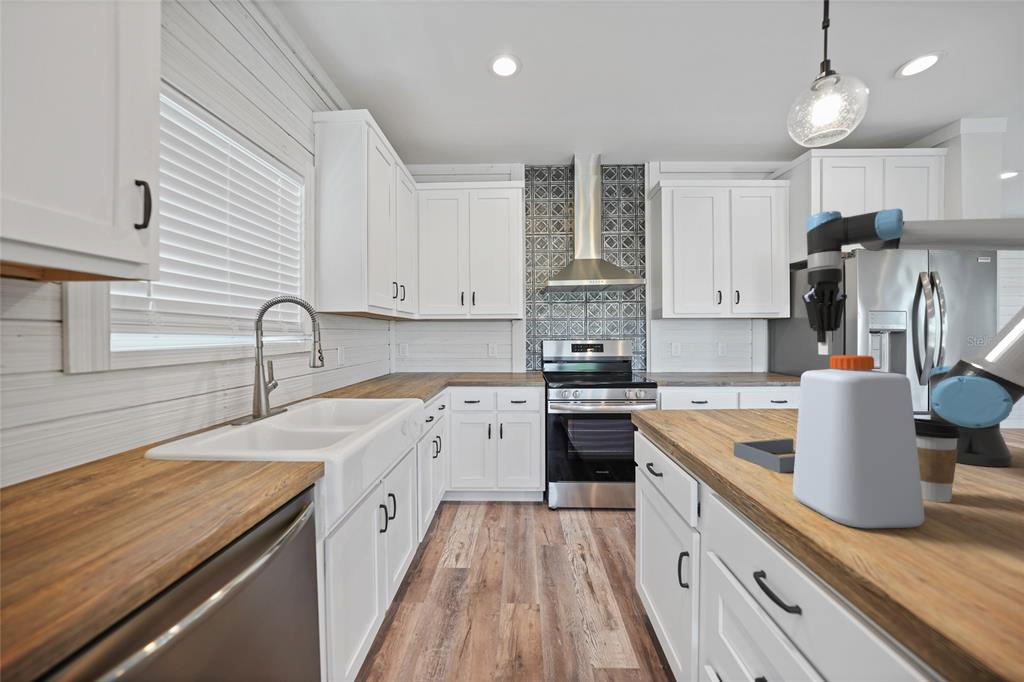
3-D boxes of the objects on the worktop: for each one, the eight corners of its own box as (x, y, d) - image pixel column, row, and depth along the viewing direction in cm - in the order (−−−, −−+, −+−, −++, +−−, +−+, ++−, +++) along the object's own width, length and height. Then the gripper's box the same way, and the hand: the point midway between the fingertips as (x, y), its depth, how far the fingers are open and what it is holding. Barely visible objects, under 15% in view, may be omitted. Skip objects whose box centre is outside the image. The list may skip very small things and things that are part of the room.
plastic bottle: (940, 530, 64) (938, 357, 64) (847, 532, 64) (846, 358, 63) (857, 493, 79) (855, 353, 79) (782, 495, 79) (780, 354, 79)
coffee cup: (887, 487, 82) (886, 415, 82) (933, 489, 81) (932, 415, 81) (923, 504, 74) (922, 424, 74) (975, 506, 72) (974, 424, 72)
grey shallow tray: (790, 450, 109) (790, 438, 109) (842, 466, 95) (842, 452, 95) (733, 455, 105) (733, 442, 105) (779, 473, 91) (779, 457, 91)
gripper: (829, 272, 115) (830, 353, 115) (792, 271, 112) (793, 354, 112) (857, 267, 108) (858, 354, 108) (818, 266, 105) (819, 355, 105)
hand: (825, 354), depth 110 cm, fingers closed
